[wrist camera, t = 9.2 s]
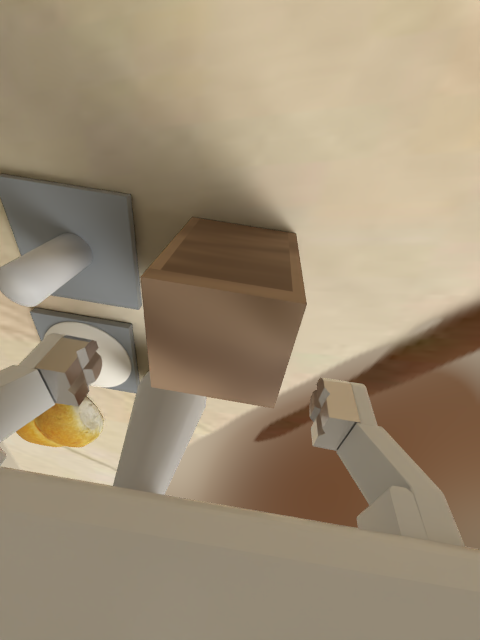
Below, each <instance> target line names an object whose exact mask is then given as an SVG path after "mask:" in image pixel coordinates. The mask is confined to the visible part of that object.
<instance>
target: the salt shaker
mask: <svg viewBox="0 0 480 640" xmlns="http://www.w3.org/2000/svg"><path fill="white" fill-rule="evenodd" d="M205 406H206V397H205V396H199V395H194V394H188V393H182V392H176V391H170V390H164V389H159V388H153V387H151V381H150V371H148V372H147V373H146V374H145V376H144V377H143V379H142V380H141V382H140V384H139V385H138V389H137V393H136V397H135V401H134V405H133V409H132V413H131V417H130V421H129V425H128V429H127V433H126V437H125V441H124V445H123V449H122V452H121V456H120V460H119V464H118V468H117V472H116V476H115V480H114V484H113V486H116V487H122V488H128V489H133V490H139V491H145V492H151V493H157V494H162V495H164V494H165V492H166V490H167V488H168V486H169V484H170V481H171V479H172V477H173V475H174V473H175V471H176V469H177V466H178V464H179V462H180V460H181V458H182V455H183V454H184V451H185V449H186V447H187V445H188V443H189V441H190V439H191V437H192V434H193V432H194V430H195V428H196V426H197V424H198V422H199V419H200V417H201V415H202V413H203V411H204V409H205Z"/></svg>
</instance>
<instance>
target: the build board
mask: <svg viewBox="0 0 480 640" xmlns="http://www.w3.org/2000/svg"><path fill="white" fill-rule="evenodd" d="M30 313H31V316H32V319H33V321H34V324H35V326H36V329H37V331H38V334H39V337H40V339H41V341H42V340H43V339H44V338H45V337H46V336H47V335H49V334H51V333H57V334H63V335H69V336H74V337H79V338H85V339H90V340H94V341H96V342H97V345H98V347H99V348H98V349H97V351H96V352H97V353H98V354H99V355H100V356H101V358H102V369H101V372H100V375H99V376H98V378H97V380H96V381H95V382H93V383H91V384H90V386H95V387H102V388H108V389H113V390H119V391H125V392H131V393H137V389H138V385H139V384H140V383H139V375H138V368H137V360H136V352H135V345H134V337H133V330H132V324H129V323H123V322H117V321H111V320H105V319H99V318H93V317H87V316H81V315H75V314H69V313H63V312H57V311H51V310H45V309H39V308H34V309H33V310H32V311H30Z"/></svg>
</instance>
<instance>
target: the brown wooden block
mask: <svg viewBox="0 0 480 640" xmlns="http://www.w3.org/2000/svg"><path fill="white" fill-rule="evenodd" d="M141 288H142V298H143V309H144V319H145V329H146V340H147V350H148V360H149V371H150V381H151V387H153V388H159V389H164V390H170V391H176V392H182V393H188V394H194V395H199V396H205V397H211V398H217V399H223V400H229V401H234V402H240V403H246V404H252V405H258V406H263V407H269V408H274V406H275V403H276V400H277V397H278V394H279V390H280V387H281V384H282V381H283V378H284V375H285V371H286V368H287V365H288V362H289V359H290V356H291V352H292V349H293V346H294V343H295V340H296V337H297V333H298V330H299V327H300V324H301V321H302V318H303V314H304V311H305V308H306V305H307V303H306V296H305V290H304V283H303V276H302V270H301V263H300V256H299V250H298V243H297V236H296V234H295V233H289V232H283V231H276V230H270V229H264V228H258V227H251V226H245V225H239V224H233V223H227V222H220V221H214V220H208V219H202V218H195V217H192V218H191V219H190V220H189V221H188V223H187V224H186V225H185V226H184V227H183V228H182V229H181V231H180V232H179V233H178V234H177V235H176V236H175V238H174V239H173V240H172V241H171V242H170V243H169V244H168V246H167V247H166V248H165V249H164V250H163V251H162V253H161V254H160V255H159V256H158V257H157V258H156V260H155V261H154V262H153V263H152V264H151V265H150V266H149V268H148V269H147V270H146V271H145V272H144V273H143V275H142V276H141Z"/></svg>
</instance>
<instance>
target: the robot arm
mask: <svg viewBox="0 0 480 640" xmlns="http://www.w3.org/2000/svg"><path fill="white" fill-rule="evenodd" d="M98 348H99V347H98V345H97V342H96V341H94V340H90V339H85V338H79V337H74V336H69V335H63V334H57V333H51V334H49V335H47V336H46V337H45V338H44V339H43V340H42V341H41V342H40V343H39V344H38V345H37V346H36V347H35V348H34V349H33V350H32V351H31V353H30V354H29V355H28V356H27V357H26V358H25V359H24V360H23V361H22V362H21V363H20V364H19V365H18V366H15V365H12V366H10V367H8V368H6V369H3V370H1V371H0V442H2V441H3V440H4V439H6V438H7V437H9V436H10V435H12V434H13V433H15V432H16V431H18V430H19V429H20V428H22V427H23V426H25V425H26V424H28V423H29V422H31V421H32V420H33V419H35V418H36V417H38V416H39V415H41V414H42V413H44V412H45V411H47V410H48V409H49V408H51V407H52V406H54V405H55V403H57V404H64V405H72V406H80V404H81V403H82V401H83V400H84V398H85V397H86V395H87V394H88V392H89V387H88V385H90V384H91V383H93V382H95V381H96V380H97V378H98V376H99V375H100V372H101V369H102V358H101V356H100V355H99V354H98V353H97V352H96V351H97V349H98ZM309 412H310V418H311V419H312V420H313V422H314V423H313V425H312V427H311V434H312V444H313V446H315V447H320V448H325V449H331V450H335V451H337V454H338V455H339V457H340V458H341V460H342V462H343V463H344V465H345V467H346V468H347V470H348V471H349V473H350V475H351V476H352V478H353V479H354V481H355V483H356V484H357V486H358V487H359V489H360V491H361V492H362V494H363V495H364V497H365V499H366V500H367V502H368V503H369V505H370V506H368V507H367V508H366V509H365V510H364V511H363V512H362V513H361V514H359V516H358V517H357V523H358V528H353V527H347V526H342V525H336V524H330V523H325V522H319V521H313V520H307V519H301V518H295V517H290V516H284V515H278V514H272V513H267V512H261V511H255V510H249V509H243V508H238V507H232V506H225V505H220V504H214V503H209V502H203V501H197V500H191V499H186V498H180V497H174V496H168V495H162V494H157V493H151V492H145V491H139V490H133V489H128V488H122V487H116V486H110V485H104V484H99V483H93V482H87V481H81V480H75V479H70V478H64V477H58V476H52V475H46V474H41V473H35V472H29V471H23V470H17V469H12V468H6V467H0V640H480V549H475V548H469V547H465V545H464V543H463V541H462V538H461V536H460V533H459V531H458V528H457V526H456V523H455V521H454V518H453V516H452V514H451V511H450V509H449V506H448V504H447V501H446V499H445V496H444V494H443V493H442V491H441V490H440V489H439V488H438V487H437V486H436V485H435V484H434V483H433V482H432V481H431V479H430V478H429V477H428V476H427V475H426V474H425V473H424V472H423V471H422V470H421V469H420V468H419V467H418V466H417V464H416V463H415V462H414V461H413V460H412V459H411V458H410V457H409V456H408V455H407V454H406V452H405V451H404V450H403V449H402V448H401V447H400V446H399V445H398V444H397V443H396V442H395V441H394V439H393V438H392V437H391V436H390V435H389V434H388V433H387V432H386V431H385V430H384V429H383V428H382V427H379V426H377V422H376V419H375V416H374V412H373V409H372V406H371V403H370V399H369V396H368V393H367V389H366V387H365V385H364V384H358V383H352V382H347V381H340V380H334V379H327V378H320V379H319V380H318V383H317V390H315V391H314V392H313V394H312V396H311V399H310V406H309ZM5 459H6V453H5V452H4V451H3V450H2V449H1V447H0V465H1V464H2V463H3V461H4V460H5Z"/></svg>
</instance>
